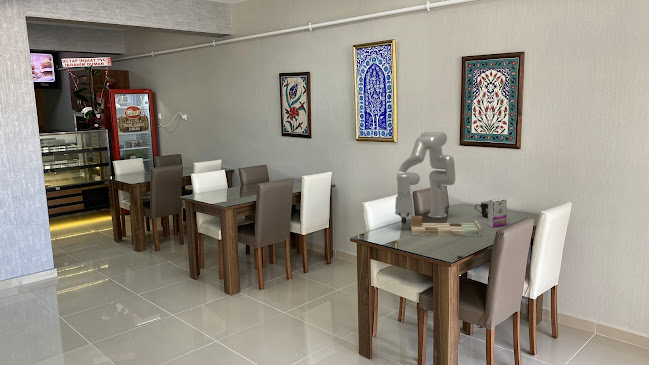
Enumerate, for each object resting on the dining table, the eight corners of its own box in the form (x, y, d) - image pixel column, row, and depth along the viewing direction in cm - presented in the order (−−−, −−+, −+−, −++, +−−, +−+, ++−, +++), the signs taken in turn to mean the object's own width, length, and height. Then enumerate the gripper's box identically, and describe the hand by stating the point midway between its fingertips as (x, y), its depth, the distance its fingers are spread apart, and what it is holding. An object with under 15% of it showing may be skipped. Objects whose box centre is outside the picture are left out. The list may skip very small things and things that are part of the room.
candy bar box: (500, 223, 308) (500, 198, 305) (506, 225, 303) (507, 199, 301) (487, 226, 303) (487, 200, 300) (493, 227, 298) (494, 201, 296)
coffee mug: (495, 216, 327) (495, 201, 326) (492, 219, 320) (492, 204, 319) (477, 214, 334) (478, 200, 332) (474, 217, 326) (474, 202, 325)
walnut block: (411, 223, 301) (411, 215, 301) (421, 223, 300) (421, 215, 300) (412, 226, 295) (412, 218, 295) (422, 226, 295) (422, 218, 294)
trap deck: (410, 227, 304) (410, 219, 303) (475, 228, 298) (475, 219, 297) (411, 235, 285) (411, 226, 284) (480, 236, 280) (480, 226, 279)
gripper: (415, 193, 299) (415, 222, 302) (391, 193, 301) (391, 222, 304) (416, 195, 291) (416, 225, 294) (391, 195, 294) (391, 225, 296)
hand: (403, 223), depth 299 cm, fingers closed
